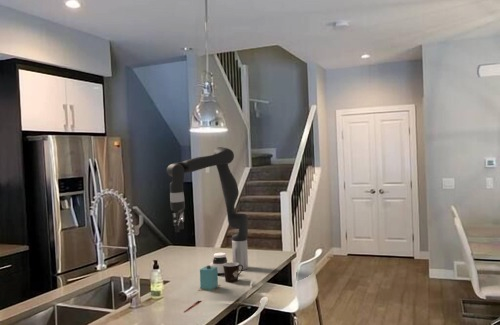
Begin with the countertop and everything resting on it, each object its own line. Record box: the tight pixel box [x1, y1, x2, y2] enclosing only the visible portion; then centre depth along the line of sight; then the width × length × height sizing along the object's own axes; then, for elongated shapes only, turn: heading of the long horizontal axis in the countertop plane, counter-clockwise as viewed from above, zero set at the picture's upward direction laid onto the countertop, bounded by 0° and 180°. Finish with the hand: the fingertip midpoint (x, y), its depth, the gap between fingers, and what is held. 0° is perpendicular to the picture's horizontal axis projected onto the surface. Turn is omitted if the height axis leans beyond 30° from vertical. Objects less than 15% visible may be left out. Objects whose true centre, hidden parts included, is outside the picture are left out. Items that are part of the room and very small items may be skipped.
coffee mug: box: [223, 261, 244, 284], centre depth 234 cm, size 12×9×10 cm
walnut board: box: [197, 284, 222, 292], centre depth 222 cm, size 10×10×1 cm
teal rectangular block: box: [199, 264, 219, 290], centre depth 222 cm, size 7×7×11 cm
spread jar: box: [209, 252, 228, 276], centre depth 254 cm, size 12×11×12 cm
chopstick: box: [183, 300, 203, 313], centre depth 202 cm, size 2×24×1 cm, turn 160°
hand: (179, 230), depth 235 cm, fingers open, 8 cm apart
